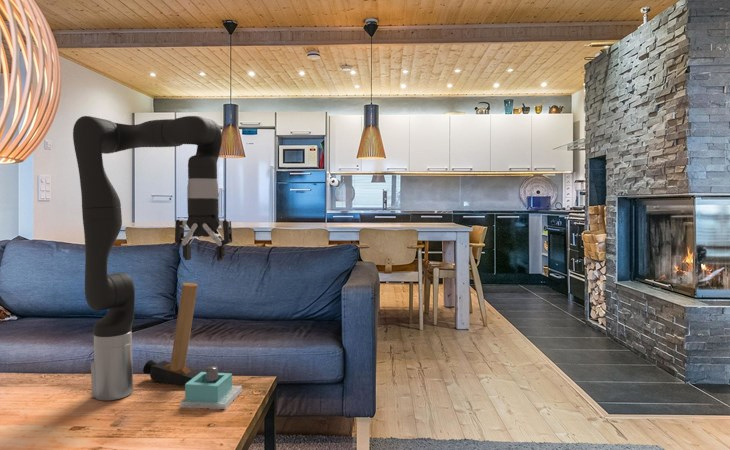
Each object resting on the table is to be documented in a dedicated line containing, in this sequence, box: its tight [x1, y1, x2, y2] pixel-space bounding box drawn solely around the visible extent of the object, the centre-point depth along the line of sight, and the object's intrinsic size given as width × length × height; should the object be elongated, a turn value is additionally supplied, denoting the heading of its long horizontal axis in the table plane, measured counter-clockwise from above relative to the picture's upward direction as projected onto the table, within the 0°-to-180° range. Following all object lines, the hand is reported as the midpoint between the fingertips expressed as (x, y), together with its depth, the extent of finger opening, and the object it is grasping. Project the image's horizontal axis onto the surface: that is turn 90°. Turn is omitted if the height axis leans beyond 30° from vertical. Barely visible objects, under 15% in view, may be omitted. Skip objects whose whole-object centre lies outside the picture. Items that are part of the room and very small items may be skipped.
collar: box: [184, 371, 233, 401], centre depth 130 cm, size 9×9×4 cm
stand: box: [179, 365, 243, 411], centre depth 129 cm, size 12×12×8 cm
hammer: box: [142, 282, 201, 387], centre depth 140 cm, size 20×5×30 cm, turn 76°
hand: (203, 260), depth 123 cm, fingers open, 8 cm apart
